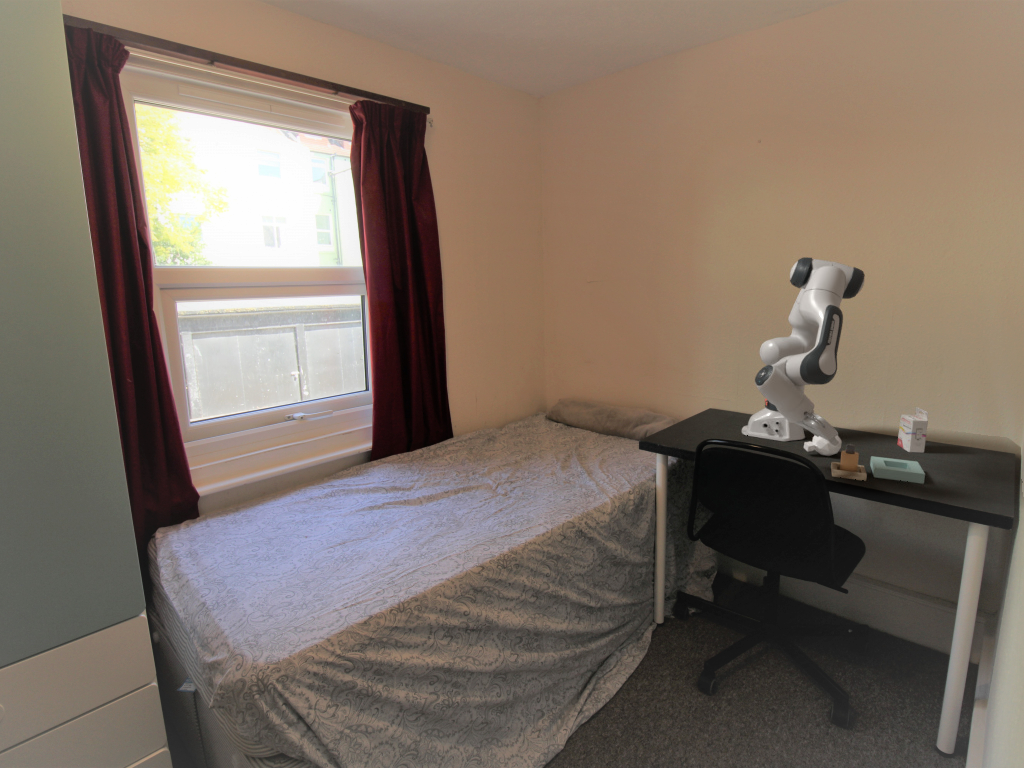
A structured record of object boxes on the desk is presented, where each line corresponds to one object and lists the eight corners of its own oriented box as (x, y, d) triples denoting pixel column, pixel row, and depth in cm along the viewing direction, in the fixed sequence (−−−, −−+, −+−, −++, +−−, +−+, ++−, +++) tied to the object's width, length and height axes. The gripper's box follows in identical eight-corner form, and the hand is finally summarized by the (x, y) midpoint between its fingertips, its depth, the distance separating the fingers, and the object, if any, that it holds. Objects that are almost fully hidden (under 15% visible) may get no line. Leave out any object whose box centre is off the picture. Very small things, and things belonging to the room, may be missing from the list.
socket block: (874, 477, 160) (875, 467, 160) (870, 464, 171) (871, 456, 170) (923, 483, 155) (925, 474, 154) (916, 470, 165) (917, 461, 164)
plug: (839, 475, 162) (842, 446, 161) (838, 470, 166) (841, 442, 165) (857, 477, 160) (860, 448, 158) (855, 472, 164) (859, 444, 162)
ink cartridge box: (896, 445, 190) (900, 405, 188) (911, 445, 189) (916, 406, 187) (908, 452, 182) (913, 411, 179) (924, 453, 181) (930, 412, 178)
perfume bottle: (828, 444, 187) (796, 449, 187) (833, 423, 183) (800, 428, 182) (845, 458, 180) (811, 464, 179) (850, 437, 175) (816, 442, 175)
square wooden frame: (832, 476, 162) (832, 470, 161) (830, 467, 169) (831, 461, 169) (866, 481, 157) (866, 474, 157) (863, 471, 165) (863, 465, 165)
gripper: (824, 409, 149) (855, 442, 151) (789, 395, 169) (817, 423, 171) (806, 424, 150) (838, 456, 152) (774, 408, 170) (802, 436, 172)
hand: (827, 439), depth 161 cm, fingers open, 8 cm apart
